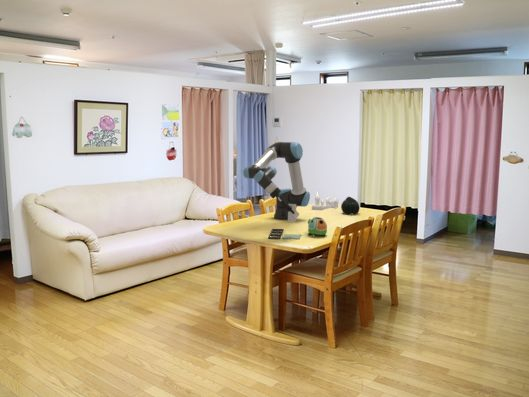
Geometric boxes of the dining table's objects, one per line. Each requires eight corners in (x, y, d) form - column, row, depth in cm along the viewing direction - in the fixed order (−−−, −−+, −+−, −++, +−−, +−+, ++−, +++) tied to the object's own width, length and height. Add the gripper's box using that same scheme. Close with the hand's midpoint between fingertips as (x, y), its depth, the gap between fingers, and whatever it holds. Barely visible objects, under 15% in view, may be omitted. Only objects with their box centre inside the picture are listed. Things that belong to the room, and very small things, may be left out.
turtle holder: (317, 231, 343) (317, 214, 341) (330, 236, 326) (331, 219, 324) (301, 232, 338) (301, 215, 336) (314, 238, 321) (314, 220, 319)
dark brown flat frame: (272, 230, 344) (272, 228, 344) (283, 230, 343) (283, 229, 343) (268, 238, 319) (268, 237, 319) (280, 239, 318) (280, 237, 318)
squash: (359, 209, 398) (359, 194, 406) (341, 209, 400) (341, 194, 408) (359, 218, 409) (359, 203, 417) (341, 218, 412) (341, 203, 420)
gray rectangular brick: (287, 221, 320) (288, 205, 319) (288, 220, 325) (288, 203, 323) (295, 222, 320) (295, 205, 318) (296, 220, 325) (296, 204, 323)
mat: (283, 238, 319) (283, 237, 319) (284, 234, 330) (284, 234, 330) (299, 239, 318) (299, 238, 318) (300, 235, 329) (300, 234, 329)
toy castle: (310, 209, 428) (311, 191, 426) (325, 206, 448) (325, 188, 445) (325, 211, 419) (325, 192, 417) (339, 207, 439) (339, 189, 437)
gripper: (270, 192, 330) (294, 217, 331) (267, 196, 313) (292, 222, 313) (278, 185, 329) (302, 209, 330) (275, 188, 311) (301, 214, 312)
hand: (297, 216), depth 321 cm, fingers closed on gray rectangular brick, 5 cm apart
